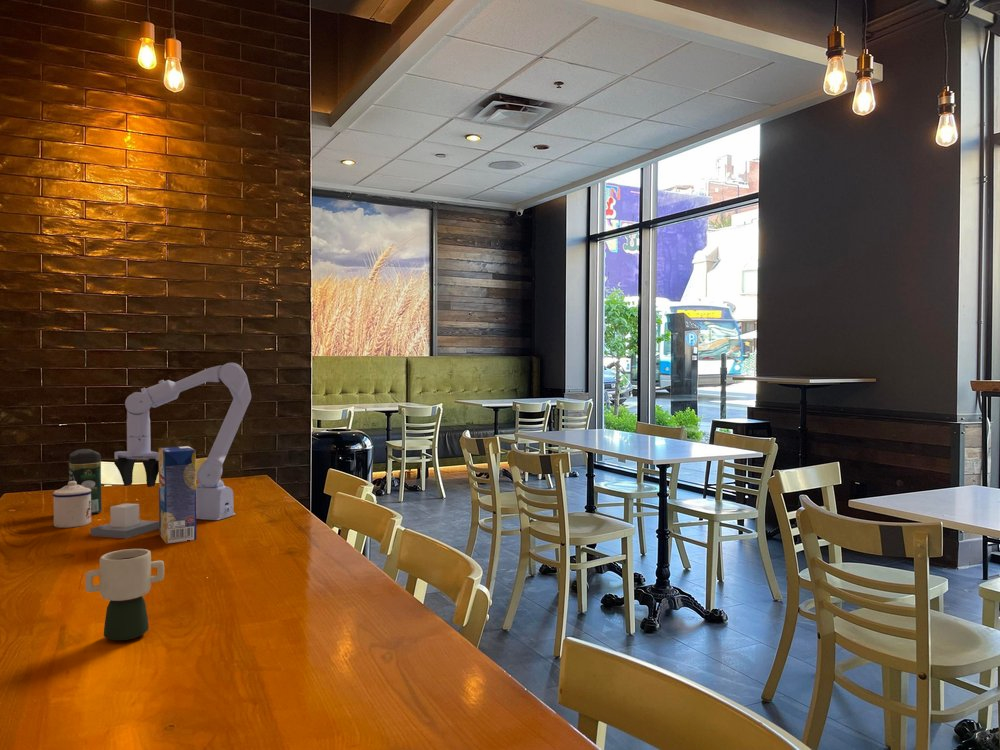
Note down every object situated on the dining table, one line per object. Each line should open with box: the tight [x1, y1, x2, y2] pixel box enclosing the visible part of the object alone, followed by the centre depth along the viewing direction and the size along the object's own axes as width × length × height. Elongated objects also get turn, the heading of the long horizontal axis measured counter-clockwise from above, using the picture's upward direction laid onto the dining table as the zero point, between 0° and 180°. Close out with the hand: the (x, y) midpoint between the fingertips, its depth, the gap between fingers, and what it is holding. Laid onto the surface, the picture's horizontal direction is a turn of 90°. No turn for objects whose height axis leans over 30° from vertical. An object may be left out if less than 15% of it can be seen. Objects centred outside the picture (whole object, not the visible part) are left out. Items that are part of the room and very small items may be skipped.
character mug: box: [85, 548, 165, 641], centre depth 110 cm, size 11×7×13 cm, turn 125°
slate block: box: [90, 519, 159, 539], centre depth 180 cm, size 11×11×2 cm
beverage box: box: [158, 445, 197, 544], centre depth 174 cm, size 7×11×22 cm, turn 33°
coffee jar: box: [68, 448, 103, 516], centre depth 204 cm, size 10×8×19 cm
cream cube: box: [109, 502, 140, 527], centre depth 180 cm, size 5×5×5 cm
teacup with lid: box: [52, 480, 92, 529], centre depth 190 cm, size 12×9×12 cm
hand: (139, 485), depth 192 cm, fingers open, 7 cm apart
